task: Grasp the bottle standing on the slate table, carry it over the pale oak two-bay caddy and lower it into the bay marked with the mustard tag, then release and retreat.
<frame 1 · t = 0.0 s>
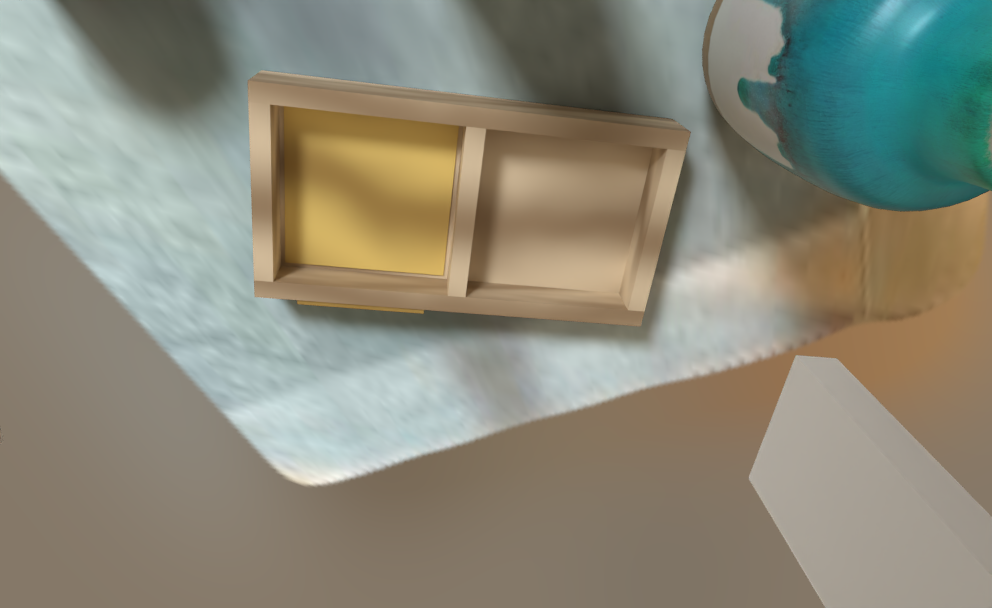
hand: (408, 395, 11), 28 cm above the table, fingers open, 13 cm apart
caddy: (463, 198, 39), on the table
vase: (772, 34, 37), on the table
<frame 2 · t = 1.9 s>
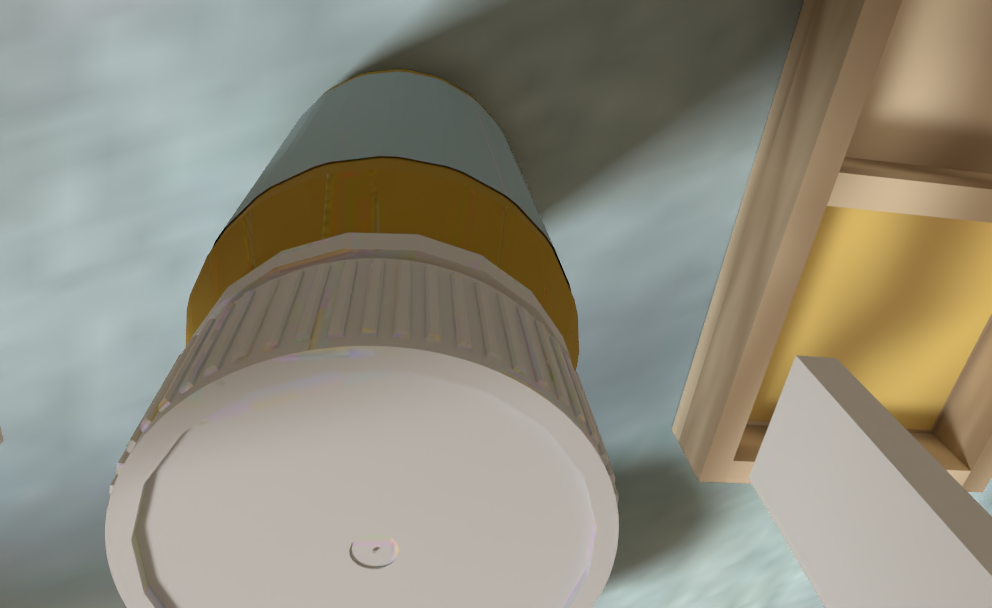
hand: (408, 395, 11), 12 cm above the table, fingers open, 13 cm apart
caddy: (914, 175, 23), on the table
bottle: (402, 179, 22), on the table
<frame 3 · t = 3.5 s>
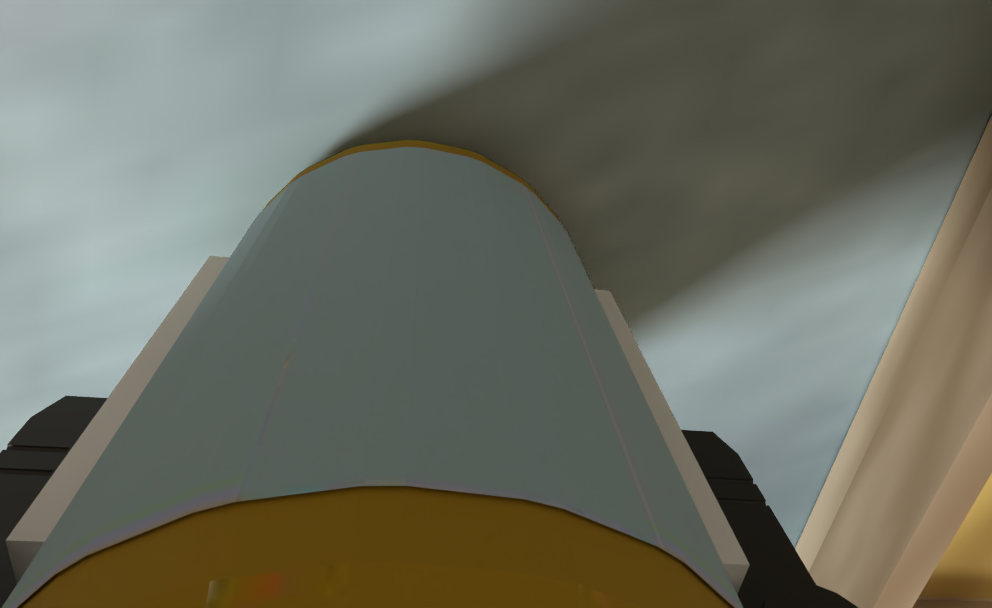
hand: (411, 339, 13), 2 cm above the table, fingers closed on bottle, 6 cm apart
bottle: (414, 290, 15), on the table, touching gripper
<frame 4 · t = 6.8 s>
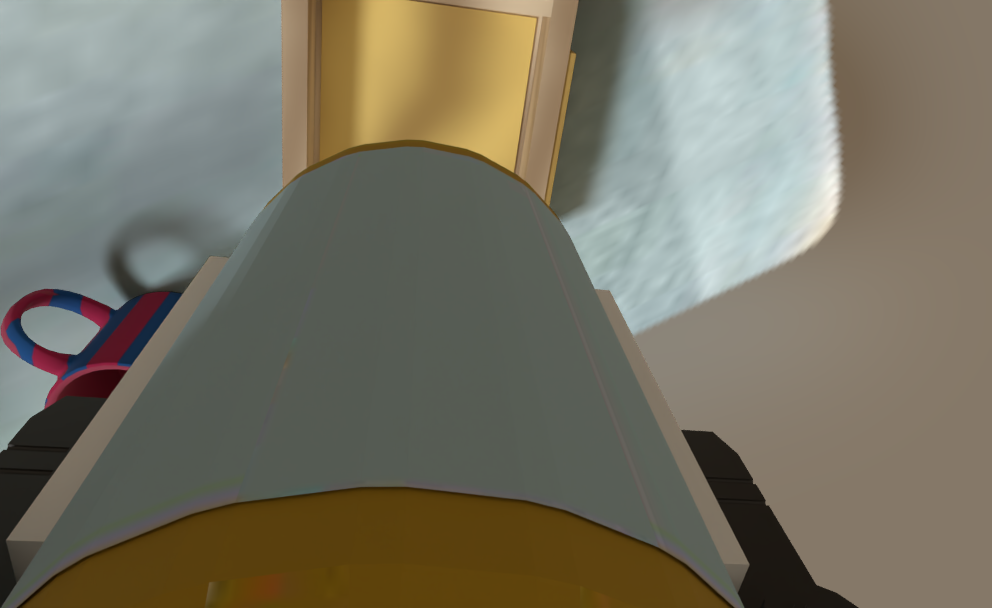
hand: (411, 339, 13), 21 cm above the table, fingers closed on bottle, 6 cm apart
mug: (153, 323, 36), on the table
bottle: (414, 290, 15), point 19 cm above the table, touching gripper
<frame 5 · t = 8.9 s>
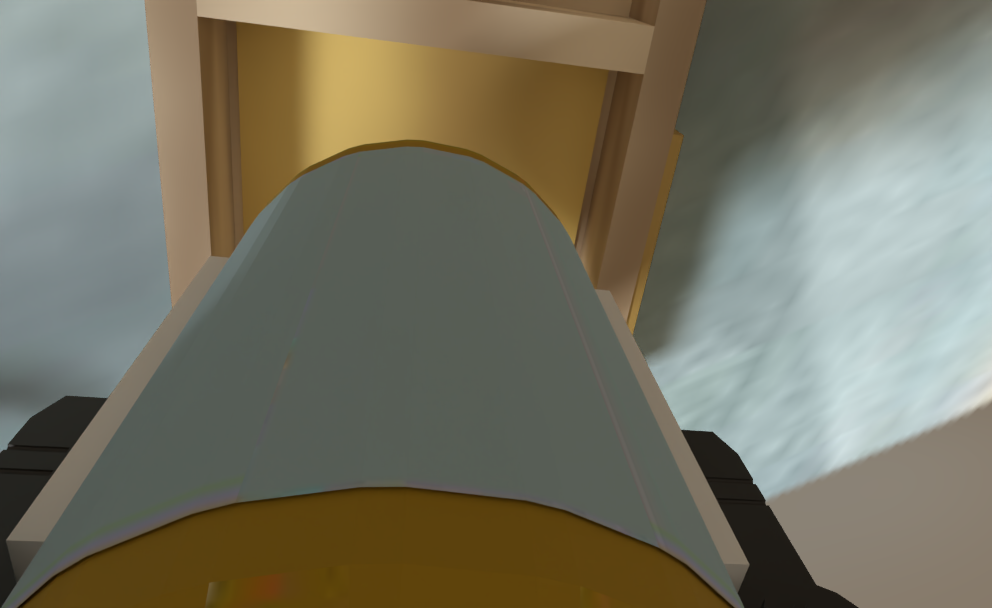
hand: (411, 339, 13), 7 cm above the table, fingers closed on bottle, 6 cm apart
caddy: (432, 9, 17), on the table
bottle: (414, 290, 15), point 5 cm above the table, touching gripper
when the fingers open (4 cm above the table, at t = 10.1 s): bottle stays where it is, resting on caddy.
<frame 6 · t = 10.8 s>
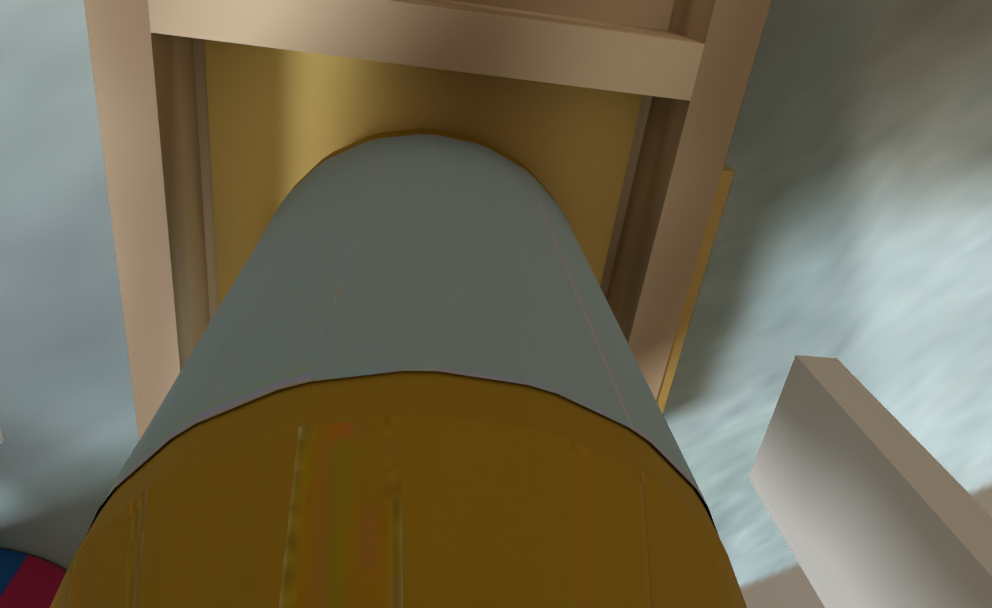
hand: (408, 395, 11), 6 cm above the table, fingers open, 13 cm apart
caddy: (436, 21, 15), on the table
bottle: (424, 267, 16), point 1 cm above the table, touching caddy
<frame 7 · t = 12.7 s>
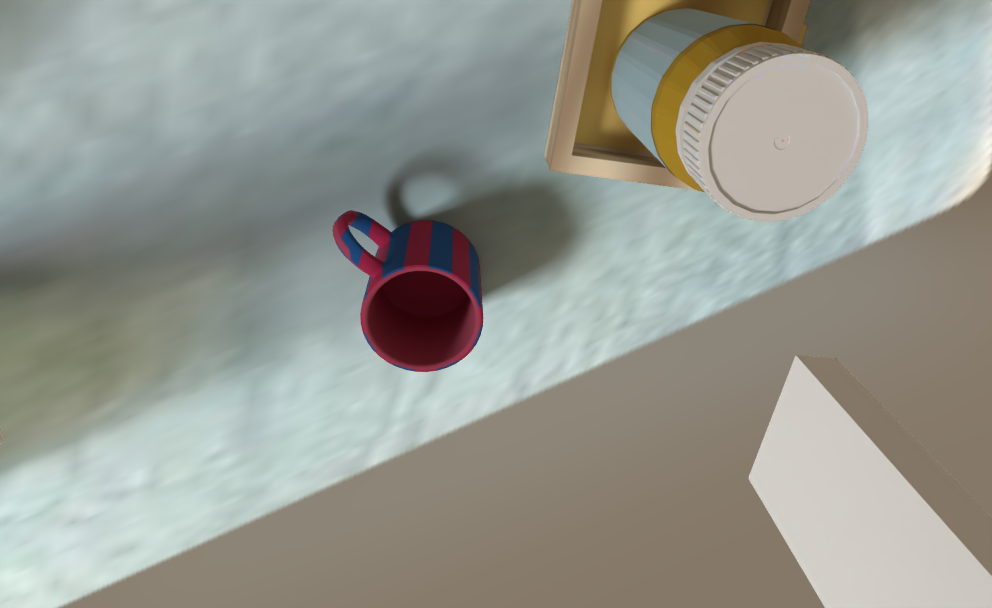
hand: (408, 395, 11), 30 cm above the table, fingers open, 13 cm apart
mug: (411, 249, 43), on the table
bottle: (668, 75, 38), point 1 cm above the table, touching caddy
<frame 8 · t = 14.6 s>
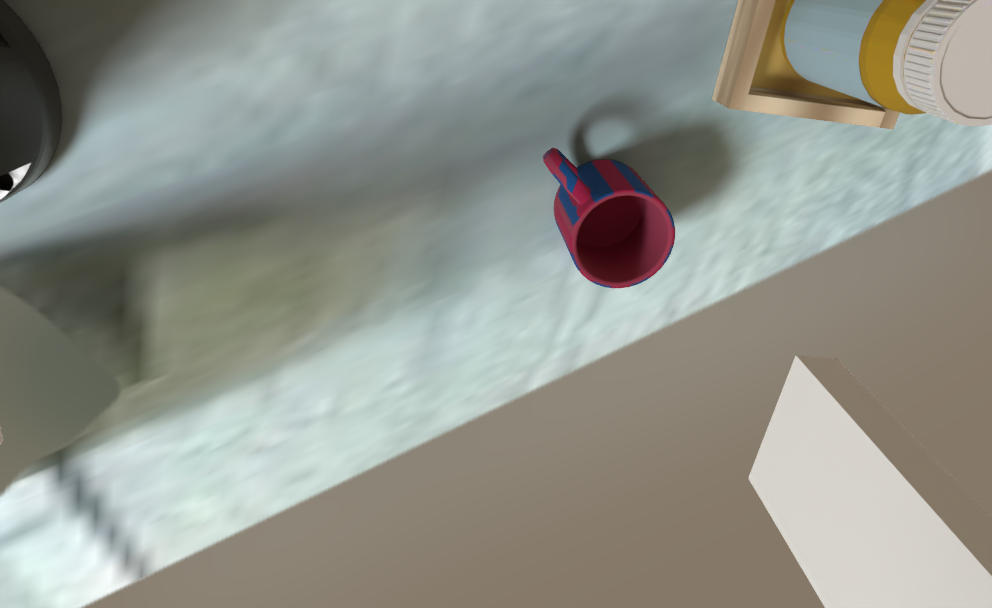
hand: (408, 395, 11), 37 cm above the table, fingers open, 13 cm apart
mug: (587, 186, 49), on the table
bottle: (827, 23, 44), point 1 cm above the table, touching caddy
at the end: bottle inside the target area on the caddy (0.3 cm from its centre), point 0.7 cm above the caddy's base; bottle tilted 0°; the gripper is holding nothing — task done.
